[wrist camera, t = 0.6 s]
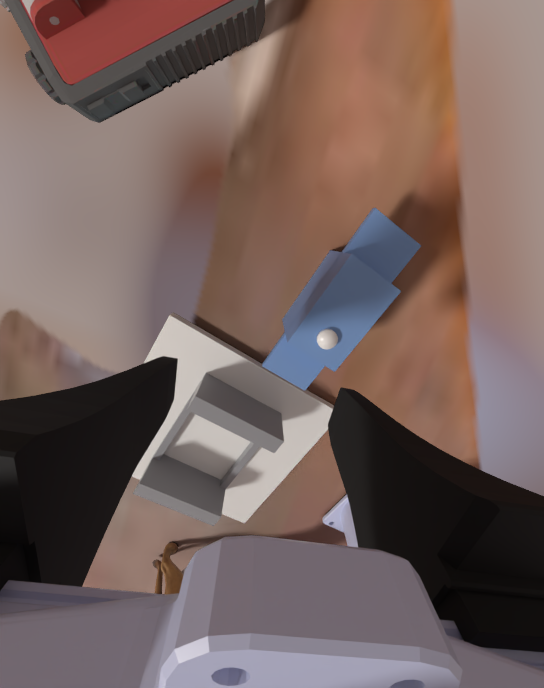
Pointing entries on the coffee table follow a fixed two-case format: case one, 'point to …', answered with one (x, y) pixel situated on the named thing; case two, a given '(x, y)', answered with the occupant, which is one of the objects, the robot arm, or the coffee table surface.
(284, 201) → the coffee table surface
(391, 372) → the coffee table surface
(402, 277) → the coffee table surface
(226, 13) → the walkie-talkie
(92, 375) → the coffee table surface
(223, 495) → the pocket plate
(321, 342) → the block
